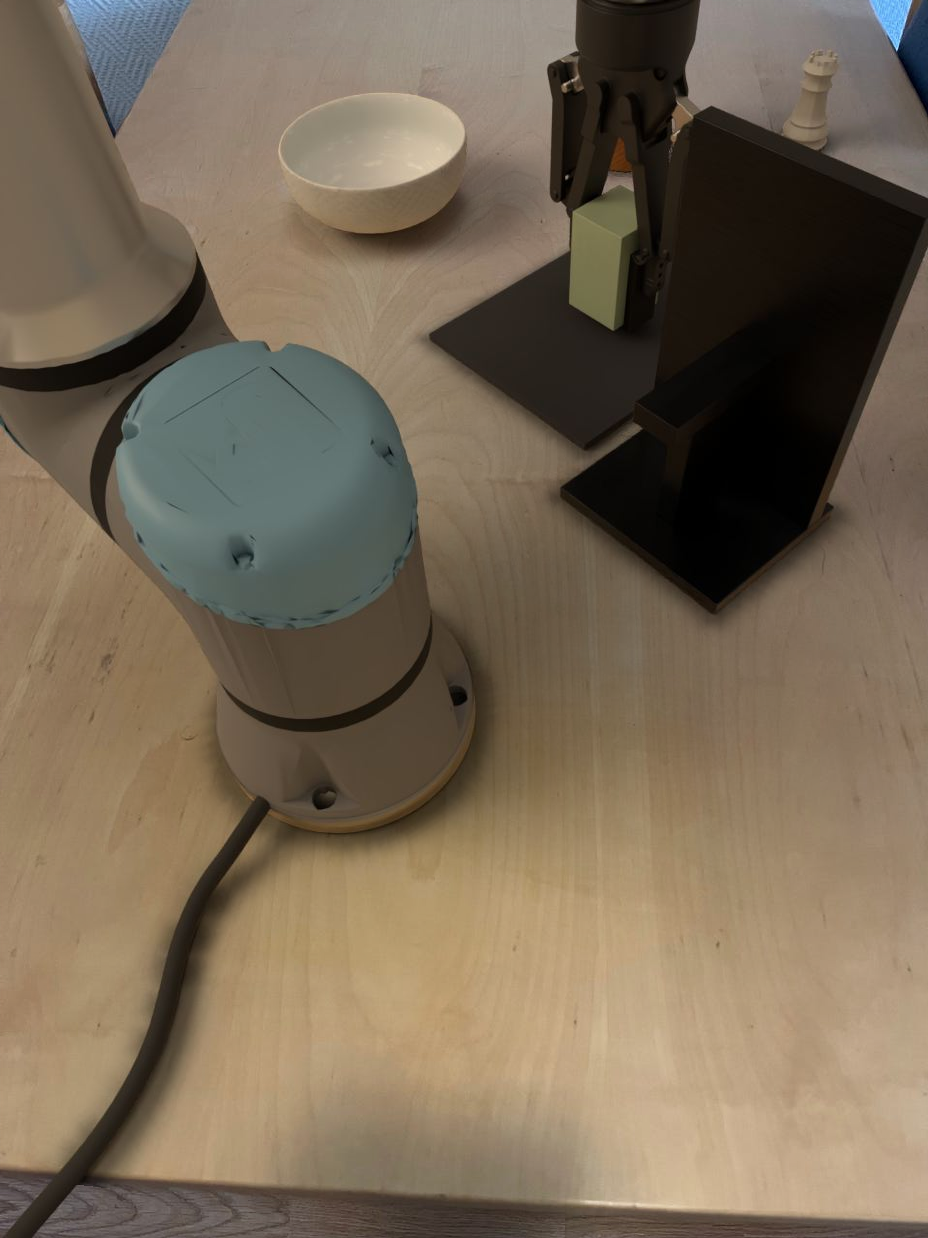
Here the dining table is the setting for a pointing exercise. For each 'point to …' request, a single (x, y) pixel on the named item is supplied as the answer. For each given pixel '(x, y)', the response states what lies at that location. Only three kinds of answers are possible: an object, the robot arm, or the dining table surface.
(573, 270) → the sage block
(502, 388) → the desk mat
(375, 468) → the robot arm
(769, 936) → the dining table surface
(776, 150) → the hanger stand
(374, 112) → the cereal bowl
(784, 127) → the rook chess piece
